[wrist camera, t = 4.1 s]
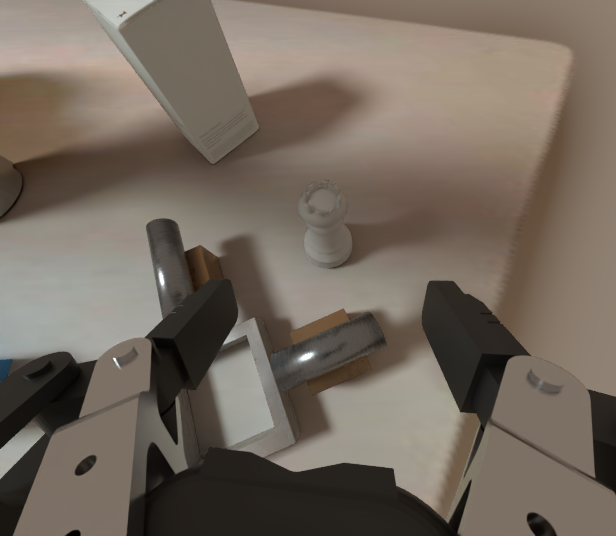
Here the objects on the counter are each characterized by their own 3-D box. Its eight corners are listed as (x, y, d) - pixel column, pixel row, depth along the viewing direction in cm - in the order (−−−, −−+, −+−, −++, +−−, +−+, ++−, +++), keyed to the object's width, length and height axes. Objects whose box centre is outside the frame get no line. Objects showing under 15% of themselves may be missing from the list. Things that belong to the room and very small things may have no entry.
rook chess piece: (316, 277, 21) (301, 240, 14) (298, 237, 23) (276, 184, 15) (361, 257, 21) (371, 210, 14) (340, 218, 23) (339, 156, 15)
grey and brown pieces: (152, 264, 24) (101, 243, 19) (303, 197, 24) (293, 158, 19) (191, 480, 18) (131, 534, 13) (397, 388, 18) (420, 406, 13)
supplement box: (262, 129, 28) (202, -31, 16) (212, 167, 27) (112, 28, 15) (228, 100, 30) (154, -58, 18) (182, 134, 30) (74, -7, 18)
